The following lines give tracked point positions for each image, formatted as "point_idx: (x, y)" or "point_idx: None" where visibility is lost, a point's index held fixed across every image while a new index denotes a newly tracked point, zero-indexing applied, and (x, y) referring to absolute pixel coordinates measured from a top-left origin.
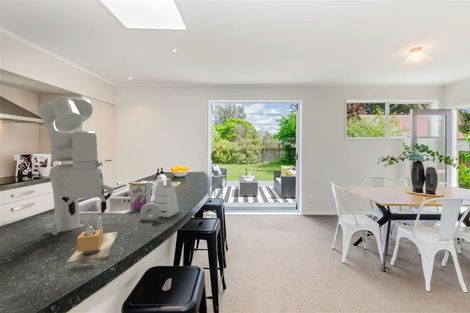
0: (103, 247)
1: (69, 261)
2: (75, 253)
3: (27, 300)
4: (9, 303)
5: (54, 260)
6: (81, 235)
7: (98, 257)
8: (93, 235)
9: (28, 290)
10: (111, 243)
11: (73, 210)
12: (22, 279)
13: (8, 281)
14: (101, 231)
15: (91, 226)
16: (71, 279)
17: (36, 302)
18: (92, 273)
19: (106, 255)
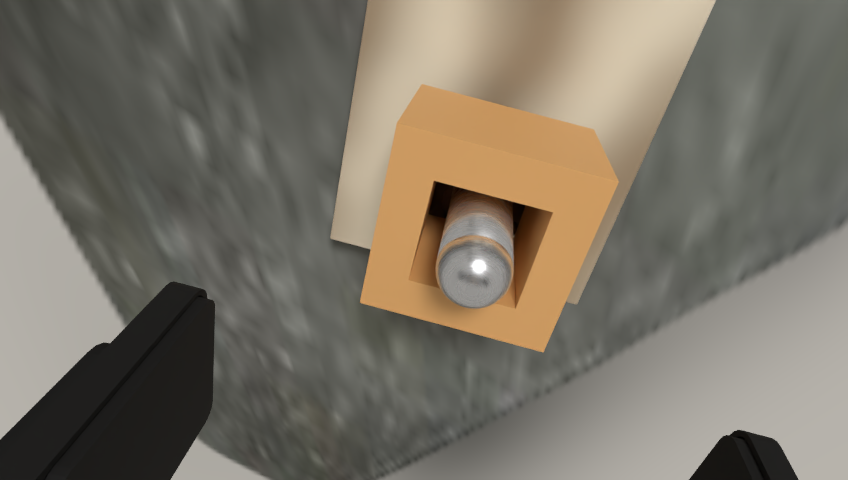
0: (590, 112)
1: (347, 240)
2: (368, 111)
3: (251, 437)
4: None
5: (231, 60)
6: (393, 255)
7: None
8: (505, 327)
9: (224, 371)
10: (680, 49)
11: (171, 444)
12: (144, 247)
13: (81, 229)
14: (603, 204)
15: (493, 286)
16: (387, 384)
17: (289, 465)
18: (481, 386)
19: (581, 290)
